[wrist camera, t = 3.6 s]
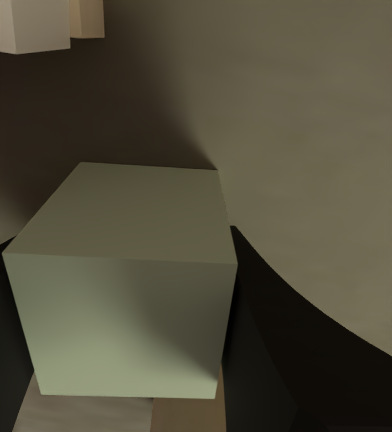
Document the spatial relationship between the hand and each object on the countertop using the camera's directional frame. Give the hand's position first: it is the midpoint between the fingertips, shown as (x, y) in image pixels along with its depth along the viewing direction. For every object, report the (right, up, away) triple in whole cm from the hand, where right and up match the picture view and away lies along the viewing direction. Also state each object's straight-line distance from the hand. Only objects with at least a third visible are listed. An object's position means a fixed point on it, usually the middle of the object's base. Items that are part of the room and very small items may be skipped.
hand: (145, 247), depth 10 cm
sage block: (0, +1, +1) cm, 1 cm away
